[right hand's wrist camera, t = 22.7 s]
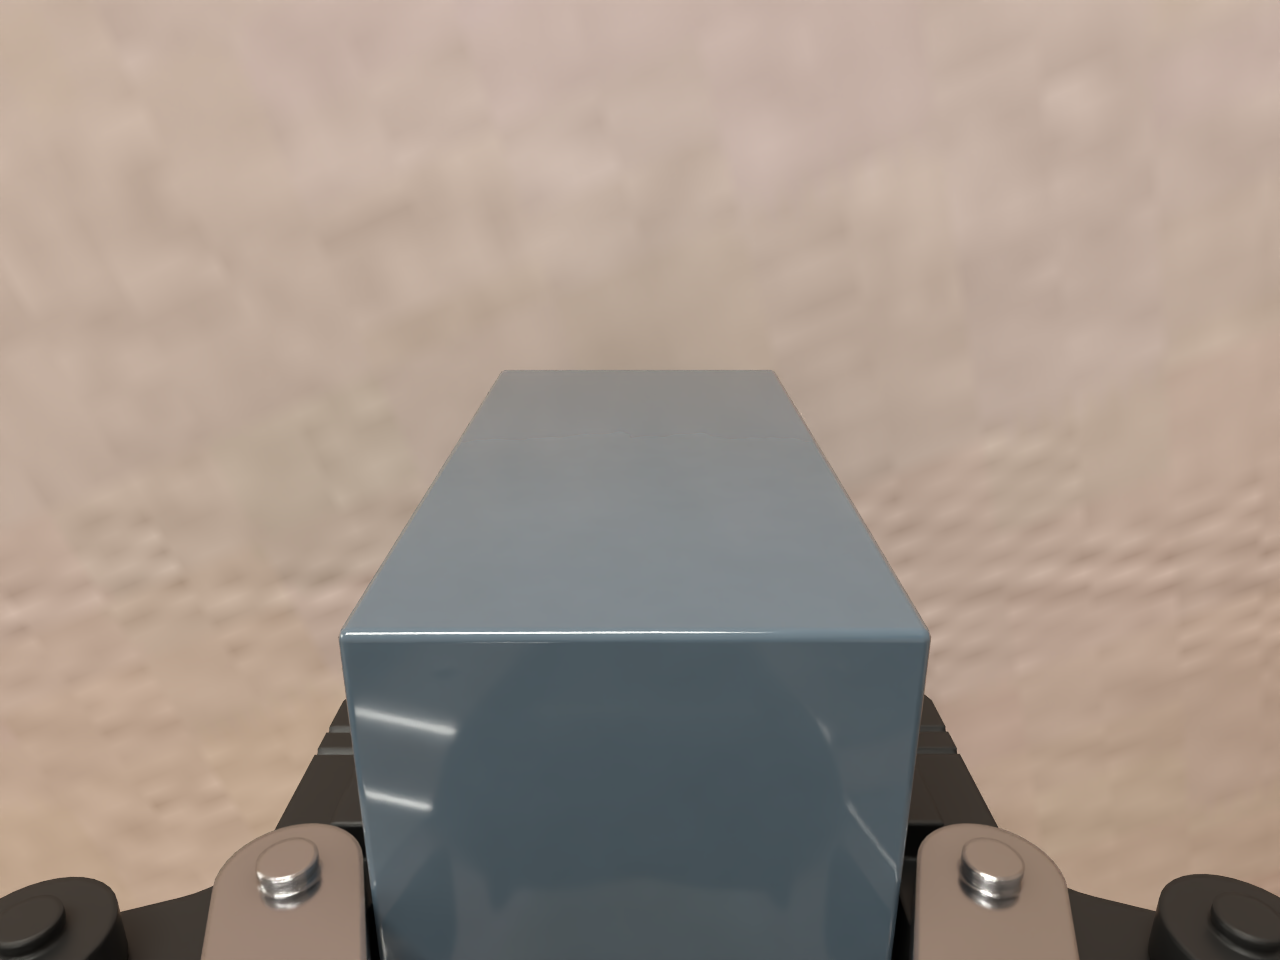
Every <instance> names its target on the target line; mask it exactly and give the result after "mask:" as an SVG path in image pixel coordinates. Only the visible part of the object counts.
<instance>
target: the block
mask: <svg viewBox="0 0 1280 960" xmlns="http://www.w3.org/2000/svg"><path fill="white" fill-rule="evenodd" d="M338 638H339V646H340V654H341V662H342V670H343V677H344V685H345V693H346V701H347V709H348V716H349V724H350V732H351V740H352V747H353V755H354V763H355V771H356V779H357V786H358V794H359V802H360V810H361V817H362V825H363V833H364V841H365V849H366V856H367V864H368V872H369V880H370V888H371V895H372V903H373V911H374V919H375V926H376V934H377V942H378V950H379V958H380V960H892V951H893V943H894V935H895V927H896V919H897V911H898V903H899V894H900V886H901V878H902V870H903V862H904V854H905V846H906V838H907V829H908V821H909V813H910V805H911V797H912V789H913V781H914V772H915V764H916V756H917V748H918V740H919V732H920V724H921V716H922V707H923V699H924V691H925V683H926V675H927V667H928V659H929V650H930V642H931V636H930V633H929V630H928V628H927V626H926V625H925V623H924V621H923V620H922V618H921V616H920V615H919V613H918V611H917V610H916V608H915V606H914V605H913V603H912V601H911V600H910V598H909V596H908V595H907V593H906V591H905V590H904V588H903V586H902V585H901V583H900V581H899V579H898V578H897V576H896V574H895V573H894V571H893V569H892V568H891V566H890V564H889V563H888V561H887V559H886V558H885V556H884V554H883V553H882V551H881V549H880V548H879V546H878V544H877V543H876V541H875V539H874V538H873V536H872V534H871V533H870V531H869V529H868V528H867V526H866V524H865V523H864V521H863V519H862V518H861V516H860V514H859V512H858V511H857V509H856V507H855V506H854V504H853V502H852V501H851V499H850V497H849V496H848V494H847V492H846V491H845V489H844V487H843V486H842V484H841V482H840V481H839V479H838V477H837V476H836V474H835V472H834V471H833V469H832V467H831V466H830V464H829V462H828V461H827V459H826V457H825V456H824V454H823V452H822V451H821V449H820V447H819V446H818V444H817V442H816V440H815V439H814V437H813V435H812V434H811V432H810V430H809V429H808V427H807V425H806V424H805V422H804V420H803V419H802V417H801V415H800V414H799V412H798V410H797V409H796V407H795V405H794V404H793V402H792V400H791V399H790V397H789V395H788V394H787V392H786V390H785V389H784V387H783V385H782V384H781V382H780V380H779V379H778V377H777V375H776V374H775V372H774V371H771V370H505V371H502V372H501V373H500V375H499V377H498V378H497V380H496V381H495V383H494V385H493V386H492V388H491V389H490V391H489V393H488V394H487V396H486V397H485V399H484V401H483V402H482V404H481V405H480V407H479V409H478V410H477V412H476V414H475V415H474V417H473V418H472V420H471V422H470V423H469V425H468V426H467V428H466V430H465V431H464V433H463V434H462V436H461V438H460V439H459V441H458V442H457V444H456V446H455V447H454V449H453V450H452V452H451V454H450V455H449V457H448V458H447V460H446V462H445V463H444V465H443V467H442V468H441V470H440V471H439V473H438V475H437V476H436V478H435V479H434V481H433V483H432V484H431V486H430V487H429V489H428V491H427V492H426V494H425V495H424V497H423V499H422V500H421V502H420V503H419V505H418V507H417V508H416V510H415V512H414V513H413V515H412V516H411V518H410V520H409V521H408V523H407V524H406V526H405V528H404V529H403V531H402V532H401V534H400V536H399V537H398V539H397V540H396V542H395V544H394V545H393V547H392V548H391V550H390V552H389V553H388V555H387V556H386V558H385V560H384V561H383V563H382V565H381V566H380V568H379V569H378V571H377V573H376V574H375V576H374V577H373V579H372V581H371V582H370V584H369V585H368V587H367V589H366V590H365V592H364V593H363V595H362V597H361V598H360V600H359V601H358V603H357V605H356V606H355V608H354V610H353V611H352V613H351V614H350V616H349V618H348V619H347V621H346V622H345V624H344V626H343V627H342V629H341V631H340V634H339V637H338Z"/></svg>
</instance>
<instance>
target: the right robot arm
mask: <svg viewBox="0 0 1280 960" xmlns="http://www.w3.org/2000/svg"><path fill="white" fill-rule="evenodd" d="M0 960H380V958H379V950H378V942H377V934H376V926H375V919H374V911H373V903H372V895H371V888H370V880H369V872H368V864H367V856H366V849H365V841H364V833H363V825H362V817H361V810H360V802H359V794H358V786H357V779H356V771H355V763H354V755H353V747H352V740H351V732H350V724H349V716H348V709H347V701H346V699H345V700H344V701H343V703H342V705H341V707H340V709H339V710H338V712H337V714H336V716H335V718H334V720H333V722H332V724H331V725H330V727H329V733H326V735H325V737H324V739H323V740H322V742H321V744H320V746H319V748H318V754H317V755H314V757H313V759H312V761H311V763H310V765H309V767H308V769H307V770H306V772H305V774H304V776H303V778H302V780H301V782H300V784H299V785H298V787H297V789H296V791H295V793H294V795H293V797H292V799H291V800H290V802H289V804H288V806H287V808H286V810H285V812H284V814H283V815H282V817H281V819H280V821H279V823H278V825H277V827H276V829H275V830H274V831H271V832H269V833H266V834H264V835H262V836H260V837H258V838H256V839H254V840H253V841H251V842H249V843H248V844H246V845H245V846H243V847H242V848H241V849H239V850H238V851H237V852H236V853H235V854H234V855H233V856H232V857H230V858H229V859H228V860H227V862H226V863H225V864H224V866H223V867H222V868H221V869H220V871H219V873H218V875H217V877H216V879H215V882H214V885H213V886H212V887H210V888H207V889H205V890H202V891H200V892H197V893H195V894H191V895H188V896H184V897H181V898H177V899H173V900H168V901H164V902H160V903H156V904H152V905H148V906H144V907H139V908H135V909H131V910H127V911H123V912H120V910H119V906H118V902H117V899H116V896H115V893H114V892H113V891H112V889H111V888H110V887H109V886H107V885H106V884H104V883H103V882H100V881H98V880H95V879H90V878H85V877H66V878H57V879H52V880H47V881H43V882H40V883H36V884H33V885H30V886H27V887H25V888H22V889H20V890H17V891H15V892H12V893H10V894H8V895H6V896H4V897H2V898H0ZM892 960H1280V898H1279V897H1278V896H1276V895H1274V894H1272V893H1270V892H1268V891H1266V890H1264V889H1262V888H1259V887H1257V886H1254V885H1252V884H1249V883H1246V882H1243V881H1240V880H1237V879H1233V878H1229V877H1224V876H1219V875H1209V874H1193V875H1187V876H1182V877H1180V878H1177V879H1174V880H1173V881H1171V882H1170V883H1168V884H1167V885H1166V886H1165V887H1164V889H1163V890H1162V892H1161V895H1160V898H1159V901H1158V905H1157V909H1156V911H1152V910H1148V909H1144V908H1139V907H1135V906H1131V905H1127V904H1123V903H1119V902H1114V901H1110V900H1106V899H1102V898H1098V897H1094V896H1090V895H1087V894H1083V893H1080V892H1077V891H1074V890H1072V889H1069V888H1067V885H1066V882H1065V879H1064V877H1063V875H1062V873H1061V871H1060V869H1059V868H1058V867H1057V865H1056V864H1055V863H1054V862H1053V860H1052V859H1051V858H1050V857H1049V856H1048V855H1047V854H1046V853H1044V852H1043V851H1042V850H1041V849H1039V848H1038V847H1037V846H1035V845H1034V844H1032V843H1031V842H1029V841H1027V840H1026V839H1024V838H1022V837H1020V836H1018V835H1016V834H1014V833H1011V832H1009V831H1006V830H1003V829H1000V828H998V826H997V824H996V822H995V820H994V819H993V817H992V815H991V813H990V811H989V809H988V807H987V805H986V803H985V801H984V799H983V798H982V796H981V794H980V792H979V790H978V788H977V786H976V784H975V782H974V780H973V778H972V777H971V775H970V773H969V771H968V769H967V767H966V765H965V763H964V761H963V759H962V757H961V756H960V754H957V748H956V746H955V744H954V742H953V740H952V738H951V736H950V735H949V733H948V732H946V731H945V725H944V723H943V721H942V719H941V717H940V715H939V714H938V712H937V710H936V708H935V706H934V704H933V702H932V700H931V699H929V698H928V697H927V696H926V695H924V699H923V707H922V716H921V724H920V732H919V740H918V748H917V756H916V764H915V772H914V781H913V789H912V797H911V805H910V813H909V821H908V829H907V838H906V846H905V854H904V862H903V870H902V878H901V886H900V894H899V903H898V911H897V919H896V927H895V935H894V943H893V951H892Z"/></svg>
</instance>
